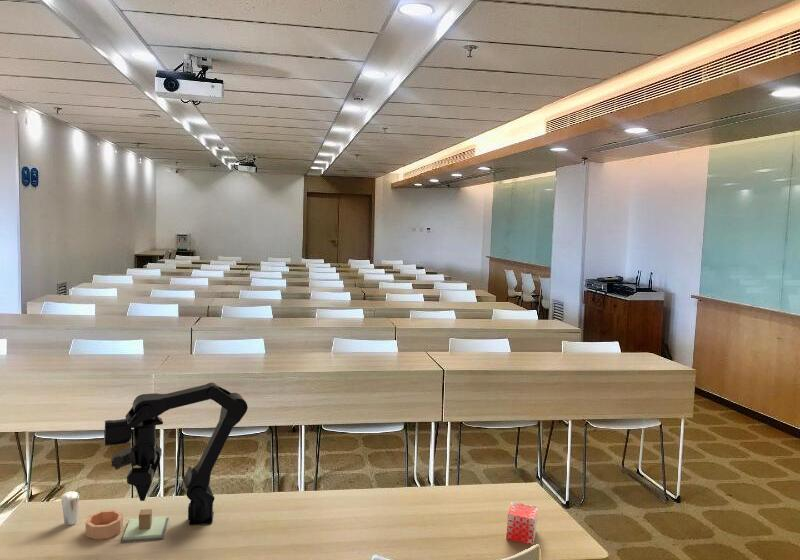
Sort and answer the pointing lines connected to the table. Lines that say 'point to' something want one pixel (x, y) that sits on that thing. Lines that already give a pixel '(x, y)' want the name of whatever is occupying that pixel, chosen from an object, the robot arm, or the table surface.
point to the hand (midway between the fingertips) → (145, 492)
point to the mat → (146, 538)
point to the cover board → (147, 532)
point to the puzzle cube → (522, 523)
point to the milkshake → (70, 507)
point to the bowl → (104, 524)
